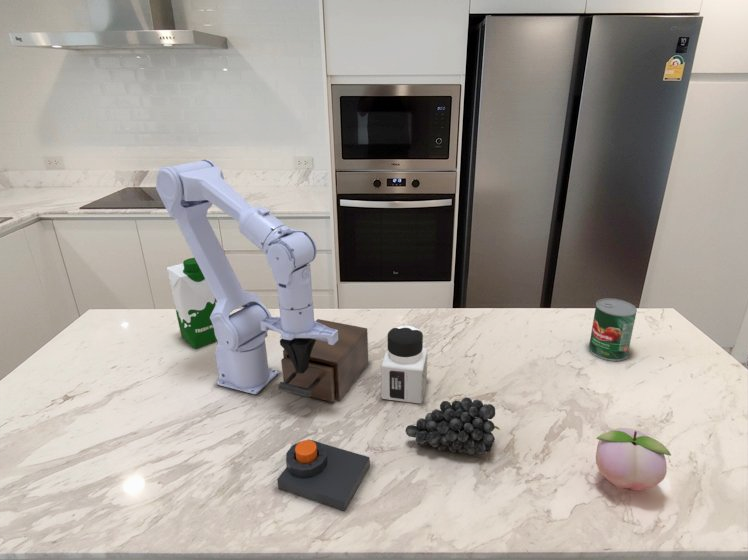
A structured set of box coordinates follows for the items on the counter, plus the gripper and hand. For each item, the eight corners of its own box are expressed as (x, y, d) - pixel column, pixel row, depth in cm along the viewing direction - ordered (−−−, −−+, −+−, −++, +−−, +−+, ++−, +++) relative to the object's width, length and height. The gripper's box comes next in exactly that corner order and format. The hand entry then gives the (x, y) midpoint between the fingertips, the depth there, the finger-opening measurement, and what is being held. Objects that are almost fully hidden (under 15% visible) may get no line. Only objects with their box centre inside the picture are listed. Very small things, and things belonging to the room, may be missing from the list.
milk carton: (193, 352, 107) (177, 269, 99) (176, 337, 113) (160, 258, 105) (229, 338, 112) (217, 258, 105) (211, 324, 118) (198, 248, 111)
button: (292, 460, 72) (291, 451, 72) (303, 446, 75) (302, 437, 74) (310, 466, 71) (309, 457, 71) (321, 452, 74) (320, 443, 73)
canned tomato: (630, 348, 106) (639, 303, 102) (624, 365, 100) (634, 318, 96) (592, 338, 110) (599, 295, 106) (584, 354, 104) (592, 309, 100)
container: (421, 404, 89) (423, 344, 84) (381, 399, 91) (380, 339, 86) (426, 380, 96) (428, 323, 91) (388, 376, 98) (388, 319, 93)
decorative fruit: (649, 468, 74) (663, 416, 70) (665, 512, 67) (681, 456, 63) (584, 458, 76) (594, 407, 72) (593, 499, 69) (605, 445, 65)
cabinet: (339, 401, 90) (337, 362, 87) (286, 388, 94) (282, 350, 91) (368, 363, 102) (367, 328, 98) (320, 353, 106) (317, 318, 103)
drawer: (320, 418, 85) (317, 386, 82) (270, 404, 88) (266, 373, 86) (360, 366, 99) (359, 337, 97) (316, 356, 103) (314, 329, 100)
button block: (275, 487, 72) (272, 469, 70) (305, 447, 79) (304, 430, 78) (344, 511, 68) (343, 493, 66) (369, 466, 75) (369, 448, 74)
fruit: (404, 407, 74) (503, 408, 73) (405, 390, 82) (494, 390, 81) (405, 461, 75) (502, 463, 74) (406, 439, 83) (494, 440, 82)
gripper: (246, 305, 81) (255, 373, 86) (322, 320, 76) (327, 391, 81) (270, 289, 87) (277, 353, 92) (342, 301, 82) (345, 369, 87)
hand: (302, 370), depth 87 cm, fingers closed
